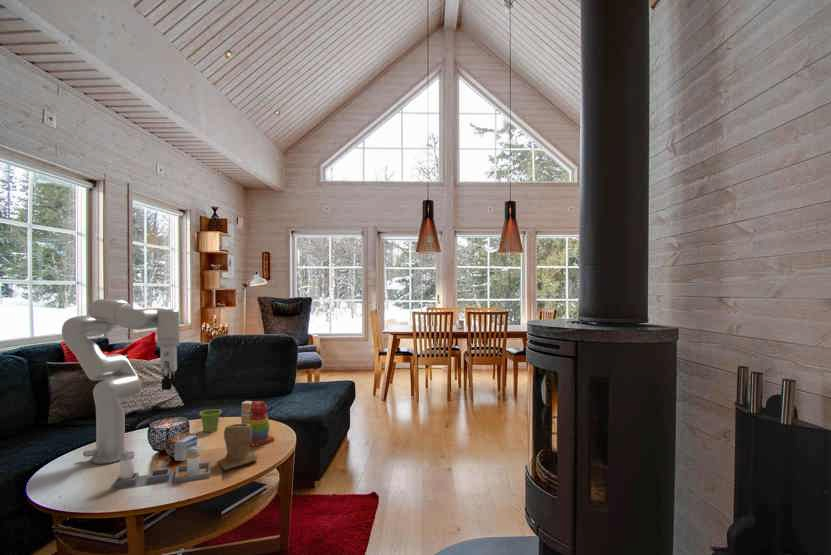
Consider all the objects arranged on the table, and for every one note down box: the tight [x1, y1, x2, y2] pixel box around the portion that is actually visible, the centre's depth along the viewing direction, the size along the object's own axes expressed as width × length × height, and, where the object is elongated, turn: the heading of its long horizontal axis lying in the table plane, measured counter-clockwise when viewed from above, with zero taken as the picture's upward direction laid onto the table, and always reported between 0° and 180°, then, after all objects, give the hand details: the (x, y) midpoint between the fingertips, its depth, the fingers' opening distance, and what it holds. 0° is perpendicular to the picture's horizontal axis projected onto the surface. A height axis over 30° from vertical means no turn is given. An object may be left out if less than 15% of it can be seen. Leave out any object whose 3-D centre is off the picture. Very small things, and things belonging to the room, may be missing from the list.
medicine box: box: [174, 435, 198, 462], centre depth 186 cm, size 8×4×9 cm, turn 168°
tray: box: [173, 461, 212, 483], centre depth 169 cm, size 11×11×3 cm
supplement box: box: [240, 400, 257, 424], centre depth 224 cm, size 8×5×13 cm, turn 80°
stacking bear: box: [248, 400, 275, 446], centre depth 207 cm, size 11×10×18 cm
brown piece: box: [217, 423, 259, 471], centre depth 182 cm, size 15×12×15 cm
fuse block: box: [110, 467, 175, 492], centre depth 164 cm, size 18×10×4 cm, turn 112°
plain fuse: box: [119, 451, 135, 481], centre depth 162 cm, size 4×4×10 cm
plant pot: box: [199, 409, 222, 433], centre depth 223 cm, size 9×9×9 cm
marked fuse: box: [186, 446, 200, 476], centre depth 169 cm, size 4×4×10 cm
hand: (168, 386), depth 180 cm, fingers open, 9 cm apart
